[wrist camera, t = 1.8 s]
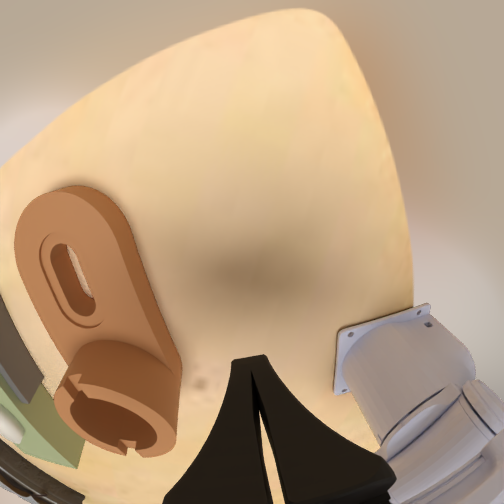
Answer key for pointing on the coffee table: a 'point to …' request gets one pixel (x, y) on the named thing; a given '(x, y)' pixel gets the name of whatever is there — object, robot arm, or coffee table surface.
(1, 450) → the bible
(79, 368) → the bracket
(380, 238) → the coffee table surface
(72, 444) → the green box with button
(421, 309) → the robot arm
